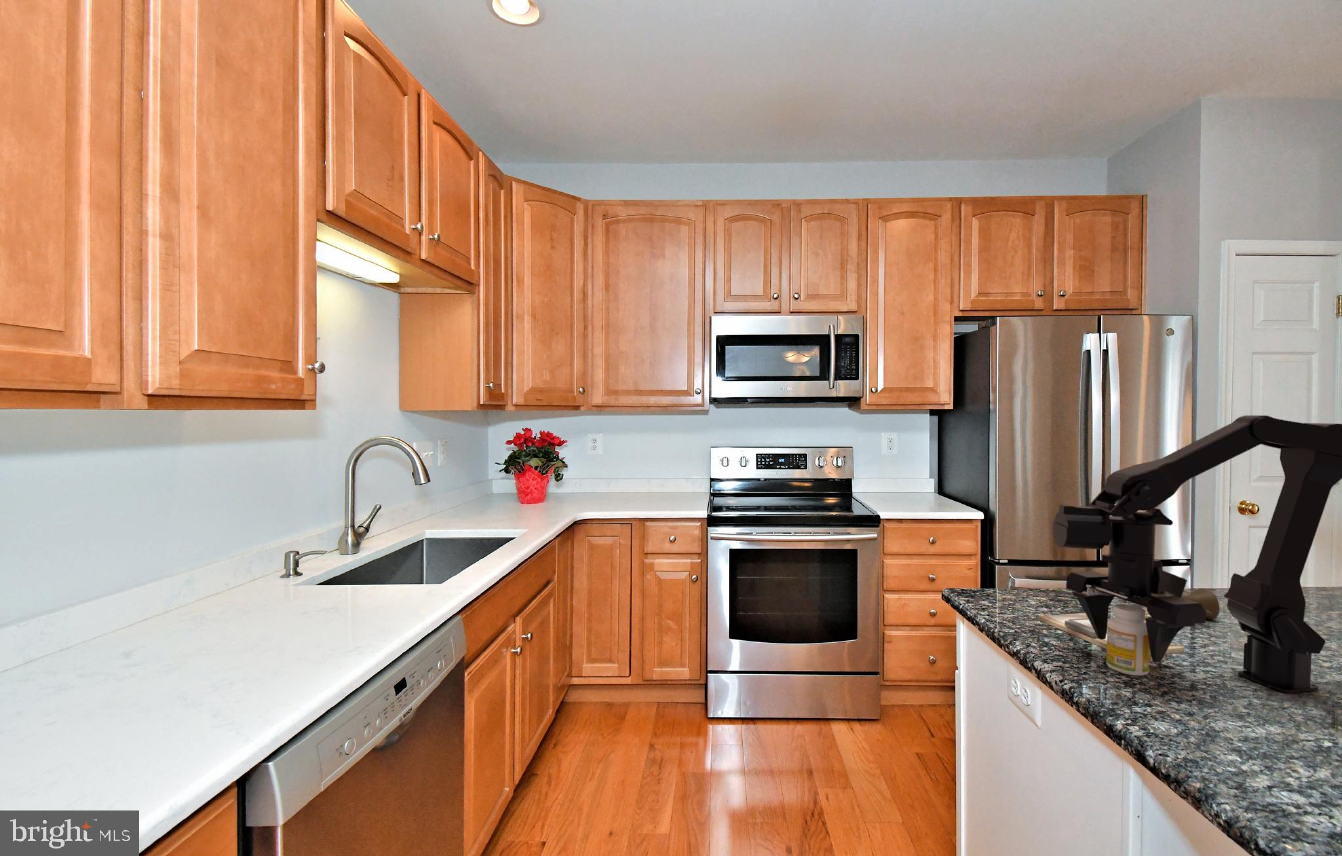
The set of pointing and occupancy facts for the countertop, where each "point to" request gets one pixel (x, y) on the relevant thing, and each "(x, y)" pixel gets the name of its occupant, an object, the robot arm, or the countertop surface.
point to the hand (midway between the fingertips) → (1127, 649)
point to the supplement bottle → (1128, 641)
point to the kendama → (1202, 601)
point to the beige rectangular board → (1087, 629)
